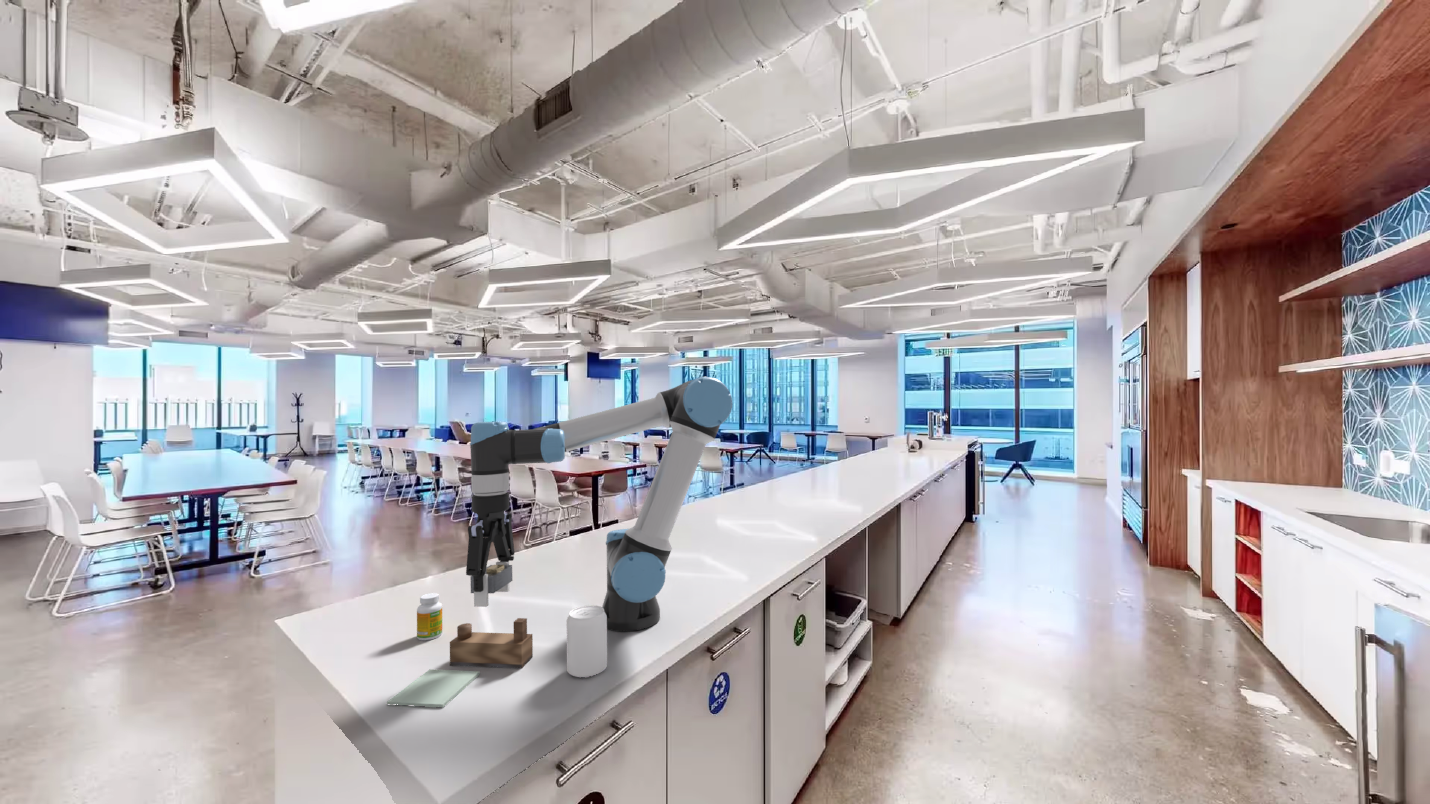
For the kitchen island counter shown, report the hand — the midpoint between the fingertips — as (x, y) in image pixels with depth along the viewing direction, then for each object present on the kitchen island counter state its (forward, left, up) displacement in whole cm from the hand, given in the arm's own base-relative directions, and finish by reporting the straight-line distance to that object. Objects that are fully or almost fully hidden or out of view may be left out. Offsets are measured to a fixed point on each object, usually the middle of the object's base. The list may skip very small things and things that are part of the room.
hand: (492, 598), depth 112 cm
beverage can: (-22, +2, -14) cm, 26 cm away
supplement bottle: (+22, -11, -14) cm, 28 cm away
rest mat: (+5, +12, -14) cm, 19 cm away
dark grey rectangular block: (0, 0, +2) cm, 2 cm away
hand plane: (0, 0, -14) cm, 14 cm away
